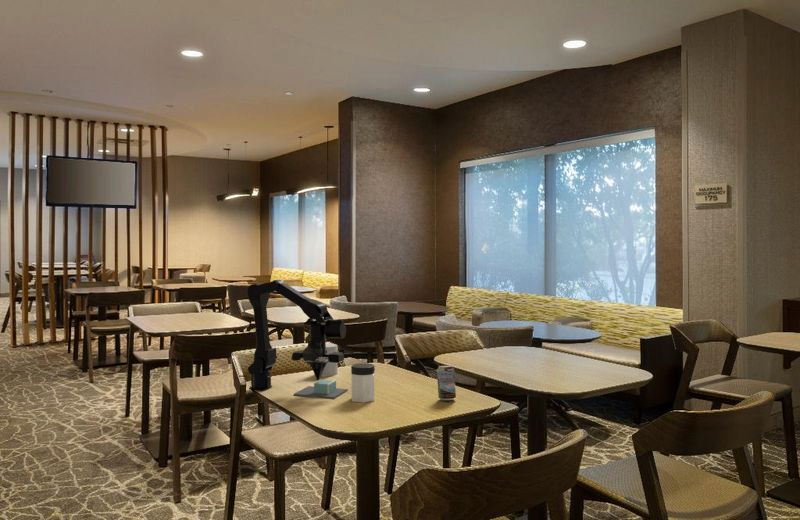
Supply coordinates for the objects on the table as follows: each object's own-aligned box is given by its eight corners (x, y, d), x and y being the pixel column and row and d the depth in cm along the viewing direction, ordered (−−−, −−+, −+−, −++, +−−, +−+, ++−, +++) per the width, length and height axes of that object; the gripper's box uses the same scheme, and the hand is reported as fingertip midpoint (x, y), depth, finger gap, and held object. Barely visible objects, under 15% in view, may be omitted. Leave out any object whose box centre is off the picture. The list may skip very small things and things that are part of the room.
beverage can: (444, 403, 206) (444, 368, 206) (433, 398, 213) (433, 364, 213) (459, 401, 209) (459, 366, 209) (448, 396, 216) (448, 362, 215)
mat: (293, 395, 218) (293, 393, 218) (308, 387, 229) (308, 386, 229) (334, 398, 213) (334, 397, 213) (347, 390, 225) (347, 389, 225)
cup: (341, 373, 254) (341, 344, 254) (329, 377, 248) (328, 347, 247) (326, 371, 259) (326, 343, 258) (313, 374, 252) (313, 346, 252)
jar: (357, 404, 206) (357, 369, 206) (346, 399, 213) (346, 365, 213) (380, 400, 211) (379, 366, 211) (368, 395, 218) (368, 362, 217)
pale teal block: (313, 383, 219) (329, 384, 217) (321, 379, 225) (336, 380, 223) (314, 393, 219) (329, 394, 217) (321, 389, 225) (336, 390, 223)
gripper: (284, 339, 216) (284, 383, 217) (332, 341, 210) (332, 386, 211) (298, 335, 227) (299, 376, 227) (344, 337, 221) (345, 379, 222)
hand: (318, 379), depth 221 cm, fingers closed
